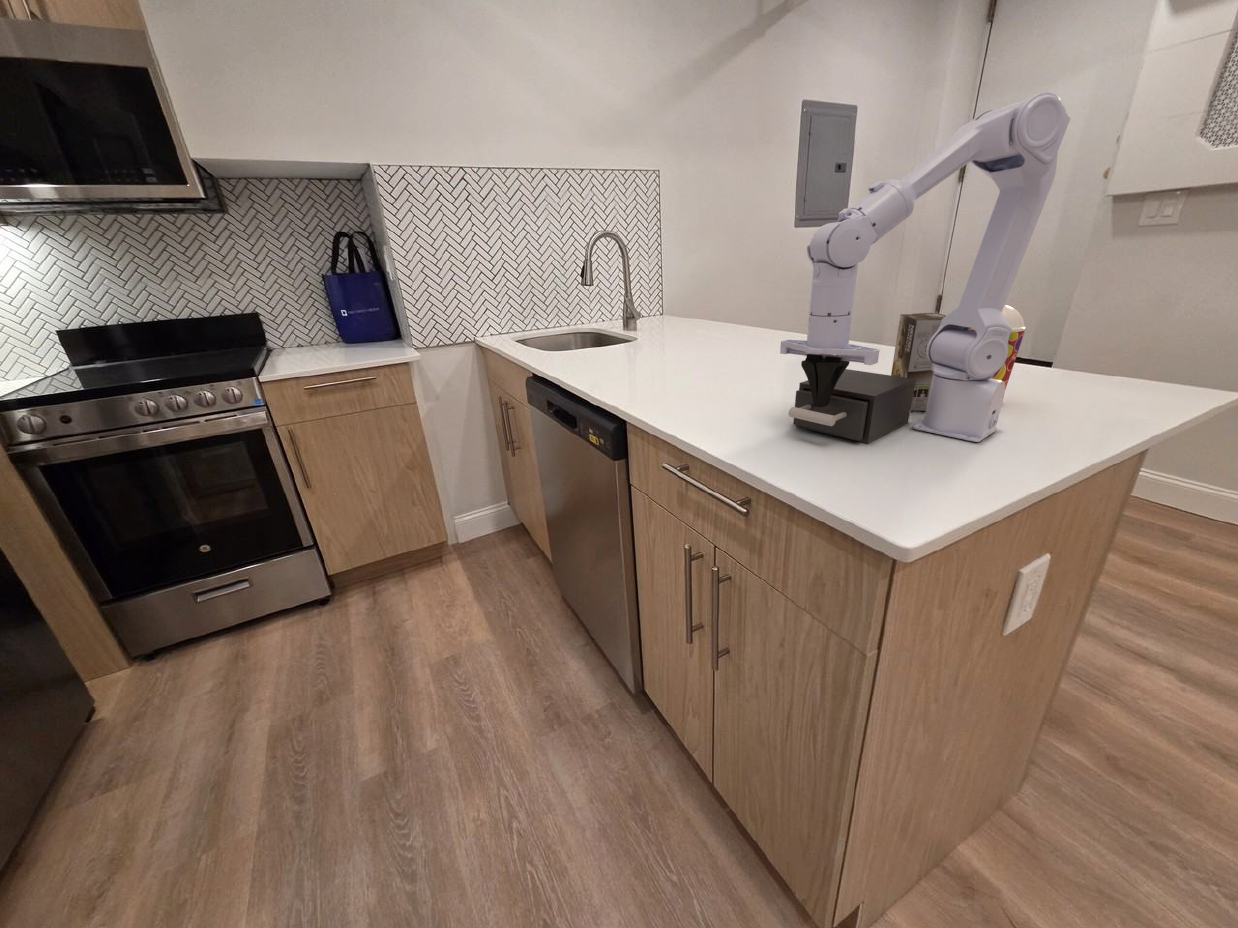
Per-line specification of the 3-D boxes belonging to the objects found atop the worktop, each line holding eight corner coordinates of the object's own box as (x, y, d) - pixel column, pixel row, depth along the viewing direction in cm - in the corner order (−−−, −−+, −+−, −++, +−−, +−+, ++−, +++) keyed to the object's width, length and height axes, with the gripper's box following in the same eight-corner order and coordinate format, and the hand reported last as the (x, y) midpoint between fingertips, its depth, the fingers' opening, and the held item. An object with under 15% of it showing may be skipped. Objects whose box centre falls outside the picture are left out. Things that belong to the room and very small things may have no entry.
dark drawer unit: (867, 444, 77) (875, 396, 74) (795, 426, 86) (799, 382, 83) (908, 423, 85) (916, 379, 82) (837, 408, 94) (842, 368, 91)
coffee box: (939, 411, 89) (958, 318, 83) (900, 411, 91) (916, 319, 84) (922, 397, 98) (938, 311, 91) (886, 397, 99) (899, 312, 93)
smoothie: (944, 396, 98) (966, 287, 90) (991, 395, 97) (1018, 285, 89) (965, 408, 90) (991, 291, 82) (1016, 408, 89) (1048, 289, 81)
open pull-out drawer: (841, 449, 73) (846, 411, 71) (775, 431, 82) (777, 397, 80) (897, 421, 83) (903, 387, 81) (833, 408, 92) (836, 376, 89)
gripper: (770, 314, 75) (765, 402, 80) (866, 320, 65) (852, 421, 70) (798, 309, 79) (791, 393, 84) (892, 314, 68) (877, 409, 74)
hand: (820, 405), depth 77 cm, fingers closed
